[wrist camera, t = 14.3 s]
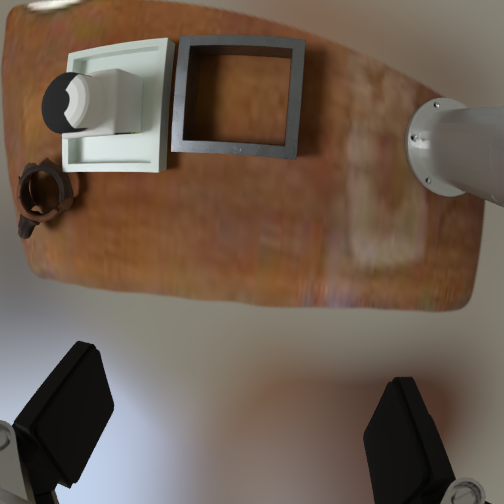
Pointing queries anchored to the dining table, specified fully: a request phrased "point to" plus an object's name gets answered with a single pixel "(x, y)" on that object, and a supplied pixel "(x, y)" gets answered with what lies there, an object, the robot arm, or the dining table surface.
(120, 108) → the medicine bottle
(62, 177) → the broken pottery ring
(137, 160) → the tray
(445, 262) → the dining table surface
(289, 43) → the holder
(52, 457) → the robot arm
